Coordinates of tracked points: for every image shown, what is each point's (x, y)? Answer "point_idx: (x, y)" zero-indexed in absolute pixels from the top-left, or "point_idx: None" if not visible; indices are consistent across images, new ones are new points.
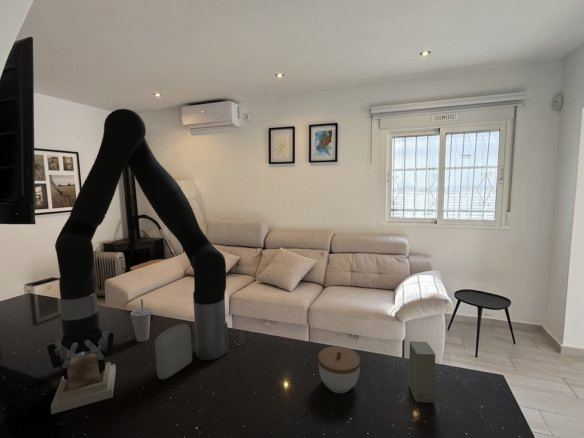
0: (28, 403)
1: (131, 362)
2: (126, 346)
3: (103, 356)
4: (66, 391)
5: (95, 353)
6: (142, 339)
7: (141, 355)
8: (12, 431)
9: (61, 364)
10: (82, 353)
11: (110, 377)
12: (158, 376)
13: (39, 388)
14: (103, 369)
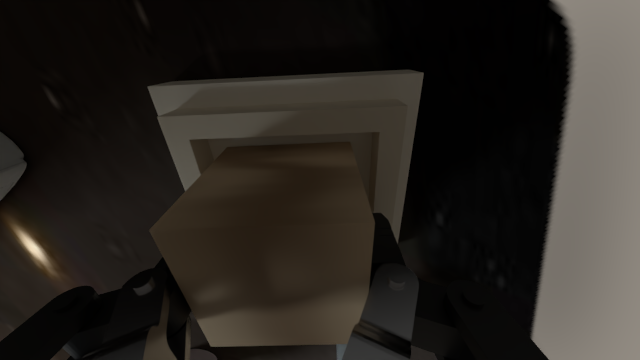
0: (487, 185)
1: None
2: None
3: (123, 290)
4: (362, 127)
5: (132, 335)
6: (191, 356)
7: None
8: (556, 9)
9: (425, 300)
10: (341, 353)
11: None
12: (4, 143)
13: (454, 250)
14: None
